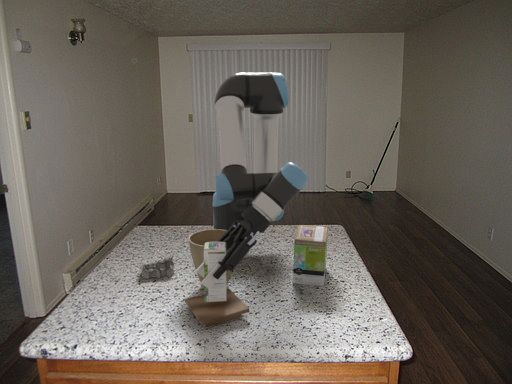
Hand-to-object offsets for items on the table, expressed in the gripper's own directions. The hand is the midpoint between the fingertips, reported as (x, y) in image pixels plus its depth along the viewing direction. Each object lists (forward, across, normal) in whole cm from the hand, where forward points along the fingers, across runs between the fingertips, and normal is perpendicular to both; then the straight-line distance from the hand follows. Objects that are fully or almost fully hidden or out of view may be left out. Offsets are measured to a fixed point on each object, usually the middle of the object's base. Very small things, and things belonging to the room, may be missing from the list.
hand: (202, 279), depth 102 cm
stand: (+5, 0, -10) cm, 11 cm away
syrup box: (+1, 0, -6) cm, 7 cm away
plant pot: (+3, +16, -12) cm, 20 cm away
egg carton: (+14, +31, -1) cm, 34 cm away
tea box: (-19, +13, -34) cm, 41 cm away
